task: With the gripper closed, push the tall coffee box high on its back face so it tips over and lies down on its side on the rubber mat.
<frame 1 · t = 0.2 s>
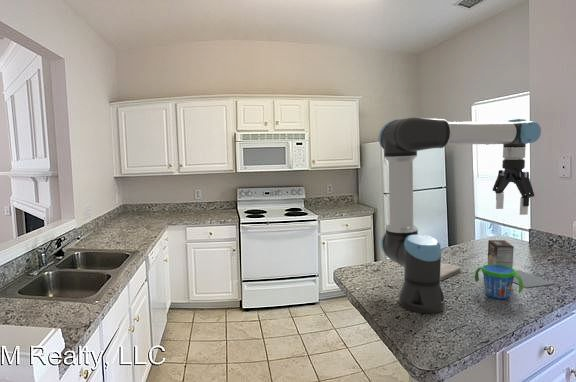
hand: (510, 211, 144), 28 cm above the worktop, tool pointing down, fingers open, 13 cm apart
snack cup: (497, 296, 130), on the worktop
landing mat: (522, 278, 145), on the worktop
washcloth: (439, 274, 155), on the worktop
coffee box: (498, 282, 142), on the worktop
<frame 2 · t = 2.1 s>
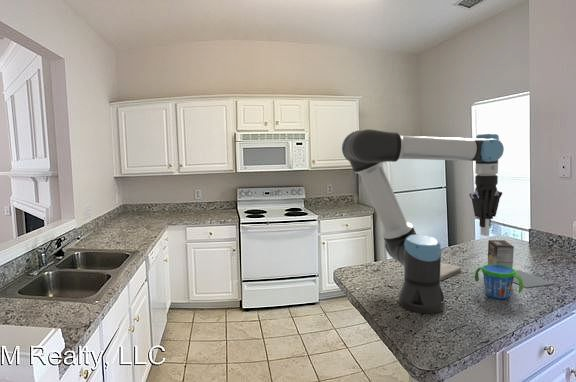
hand: (484, 234, 139), 20 cm above the worktop, tool pointing down, fingers closed
nothing on the worktop moved.
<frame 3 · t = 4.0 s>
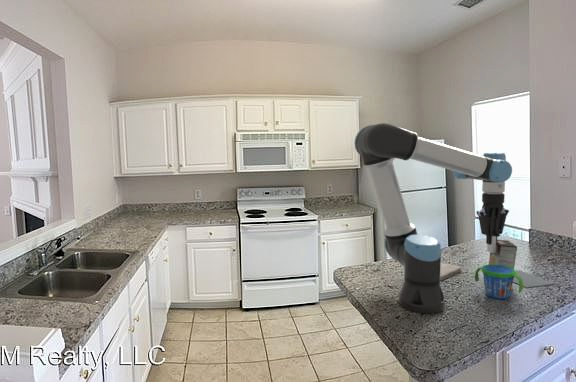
hand: (491, 251, 140), 13 cm above the worktop, tool pointing down, fingers closed
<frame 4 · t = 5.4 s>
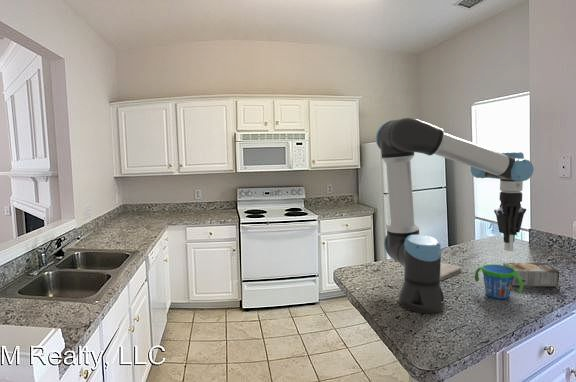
hand: (508, 250, 142), 13 cm above the worktop, tool pointing down, fingers closed
coffee box: (506, 273, 141), point 4 cm above the worktop, touching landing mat
everything else where it was.
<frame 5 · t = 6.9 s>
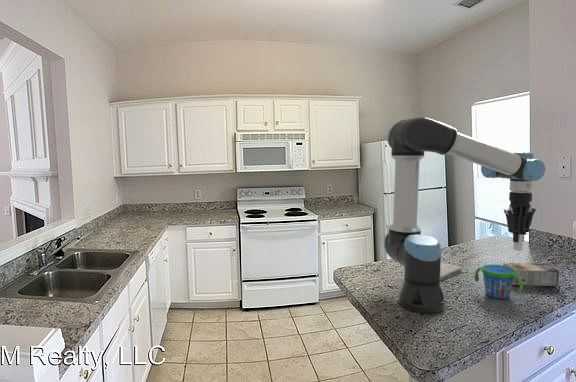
hand: (517, 249, 143), 12 cm above the worktop, tool pointing down, fingers closed
nothing on the worktop moved.
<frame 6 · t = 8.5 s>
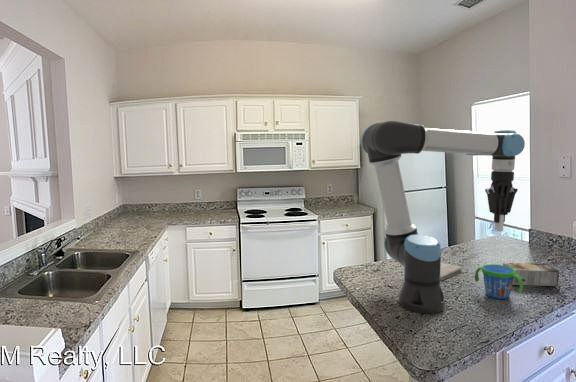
hand: (498, 230, 140), 21 cm above the worktop, tool pointing down, fingers closed
nothing on the worktop moved.
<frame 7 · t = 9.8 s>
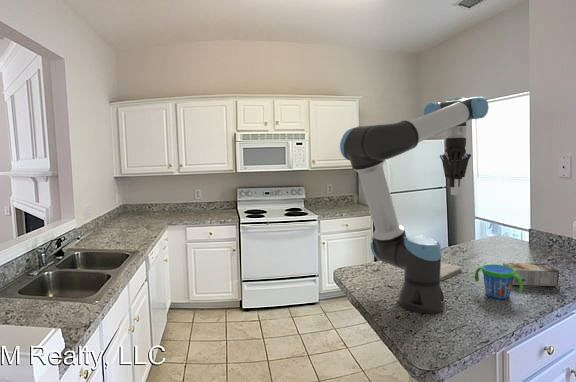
hand: (454, 194, 147), 34 cm above the worktop, tool pointing down, fingers closed
nothing on the worktop moved.
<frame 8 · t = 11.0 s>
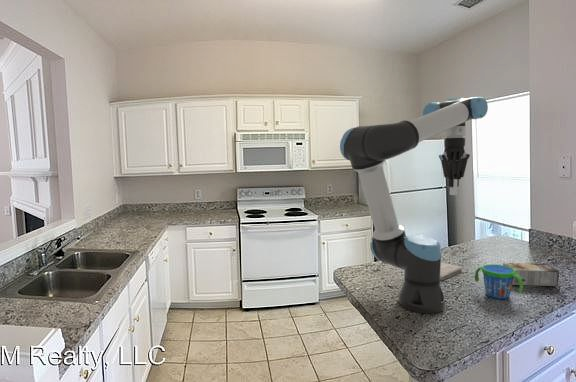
hand: (453, 194, 147), 34 cm above the worktop, tool pointing down, fingers closed
nothing on the worktop moved.
at the end: coffee box tilted 90°; coffee box inside the target area (2.4 cm from its centre), point 3.5 cm above the worktop; coffee box touching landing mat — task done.
